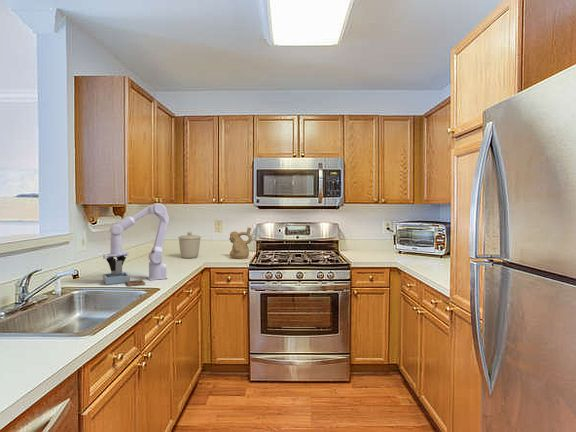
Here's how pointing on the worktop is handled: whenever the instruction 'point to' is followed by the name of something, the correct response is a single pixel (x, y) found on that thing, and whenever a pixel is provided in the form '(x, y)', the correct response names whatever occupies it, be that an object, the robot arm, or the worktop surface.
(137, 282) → the socket
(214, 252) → the worktop surface
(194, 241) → the canister
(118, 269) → the strut
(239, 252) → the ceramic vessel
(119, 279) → the bin
